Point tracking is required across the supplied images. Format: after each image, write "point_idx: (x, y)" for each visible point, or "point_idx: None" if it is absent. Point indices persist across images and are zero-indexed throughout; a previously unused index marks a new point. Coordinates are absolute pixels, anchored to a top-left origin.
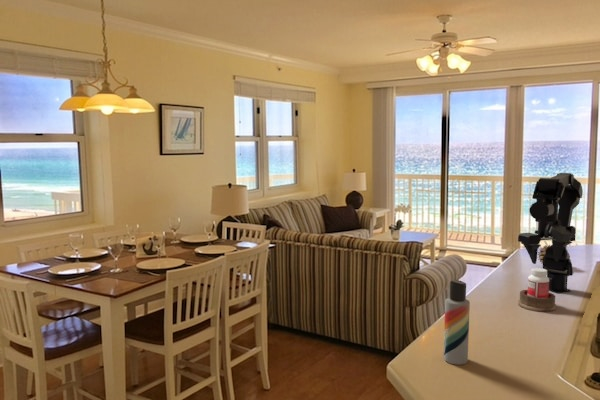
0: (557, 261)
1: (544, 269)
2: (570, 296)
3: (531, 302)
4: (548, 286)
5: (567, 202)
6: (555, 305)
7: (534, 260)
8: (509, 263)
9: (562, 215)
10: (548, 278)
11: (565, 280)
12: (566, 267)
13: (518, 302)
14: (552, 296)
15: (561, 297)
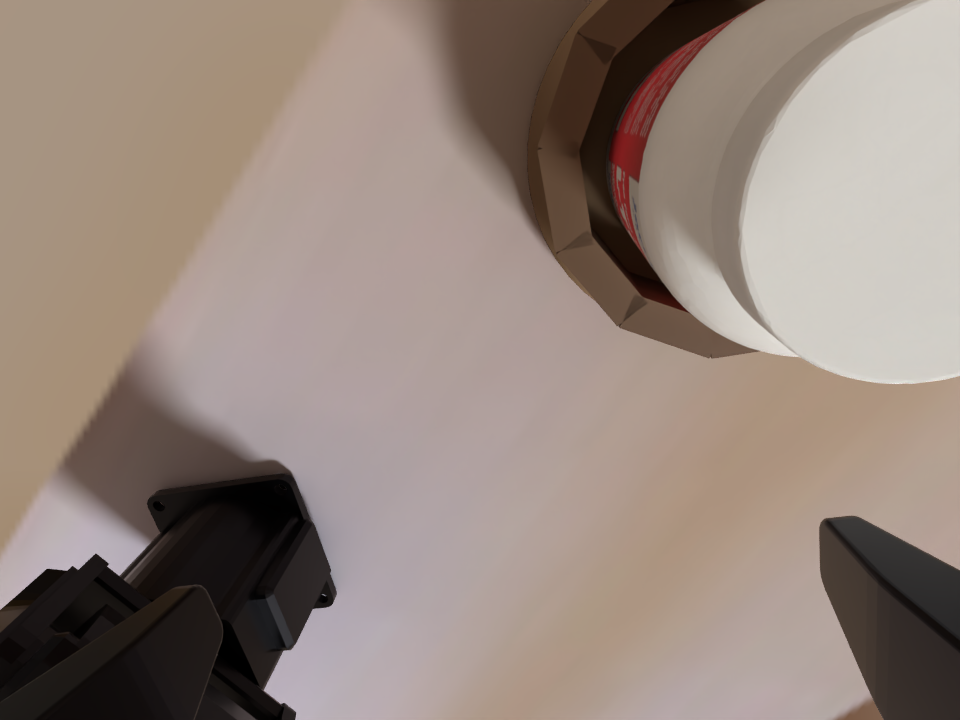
0: (193, 585)
1: (781, 211)
2: (215, 380)
3: None
4: (696, 45)
5: None
6: (565, 43)
7: (940, 570)
8: None
9: None
10: (703, 82)
11: (141, 562)
12: (47, 629)
13: None
14: (619, 29)
15: (307, 367)
